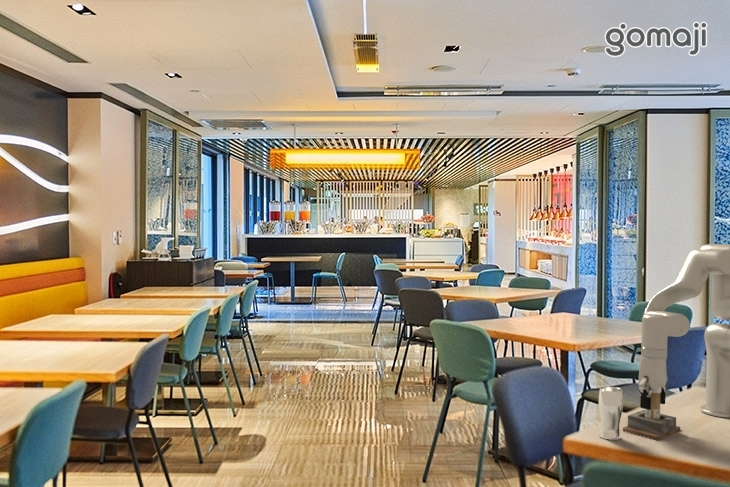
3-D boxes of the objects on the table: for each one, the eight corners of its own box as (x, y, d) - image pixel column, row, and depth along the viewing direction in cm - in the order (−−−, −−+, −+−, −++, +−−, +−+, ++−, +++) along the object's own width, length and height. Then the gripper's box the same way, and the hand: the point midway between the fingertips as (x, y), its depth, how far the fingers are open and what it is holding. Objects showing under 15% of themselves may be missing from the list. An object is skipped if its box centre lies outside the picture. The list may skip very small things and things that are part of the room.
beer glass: (623, 441, 189) (625, 392, 189) (599, 439, 191) (601, 391, 190) (619, 434, 196) (620, 386, 196) (596, 432, 198) (597, 385, 197)
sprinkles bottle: (661, 430, 198) (662, 388, 197) (645, 428, 199) (646, 386, 199) (658, 425, 202) (660, 384, 202) (643, 424, 204) (644, 383, 203)
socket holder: (646, 421, 210) (647, 408, 210) (680, 429, 202) (680, 416, 201) (622, 430, 200) (623, 416, 200) (657, 440, 191) (657, 425, 191)
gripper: (655, 347, 208) (653, 398, 209) (629, 354, 197) (628, 408, 198) (678, 351, 203) (676, 403, 203) (653, 358, 192) (651, 414, 192)
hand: (652, 406), depth 201 cm, fingers open, 9 cm apart
